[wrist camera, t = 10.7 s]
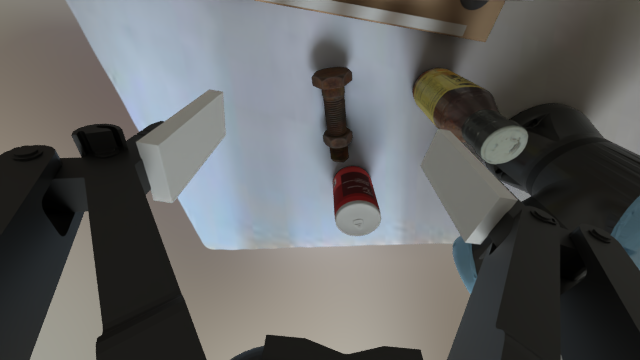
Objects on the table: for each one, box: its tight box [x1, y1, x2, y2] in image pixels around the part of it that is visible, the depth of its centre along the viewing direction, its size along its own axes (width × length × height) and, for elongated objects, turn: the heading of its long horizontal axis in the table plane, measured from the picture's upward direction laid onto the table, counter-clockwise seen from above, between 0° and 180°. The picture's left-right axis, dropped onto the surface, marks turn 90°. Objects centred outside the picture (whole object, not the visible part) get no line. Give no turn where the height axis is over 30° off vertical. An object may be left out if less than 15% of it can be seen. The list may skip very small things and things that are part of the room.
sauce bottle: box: [413, 68, 528, 164], centre depth 30 cm, size 7×6×20 cm
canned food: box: [333, 166, 381, 236], centre depth 45 cm, size 8×8×11 cm
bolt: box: [312, 67, 353, 162], centre depth 39 cm, size 6×5×15 cm
